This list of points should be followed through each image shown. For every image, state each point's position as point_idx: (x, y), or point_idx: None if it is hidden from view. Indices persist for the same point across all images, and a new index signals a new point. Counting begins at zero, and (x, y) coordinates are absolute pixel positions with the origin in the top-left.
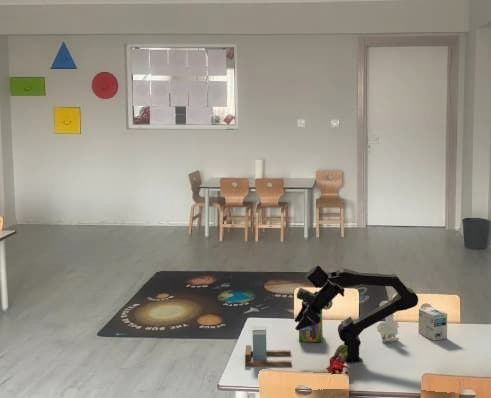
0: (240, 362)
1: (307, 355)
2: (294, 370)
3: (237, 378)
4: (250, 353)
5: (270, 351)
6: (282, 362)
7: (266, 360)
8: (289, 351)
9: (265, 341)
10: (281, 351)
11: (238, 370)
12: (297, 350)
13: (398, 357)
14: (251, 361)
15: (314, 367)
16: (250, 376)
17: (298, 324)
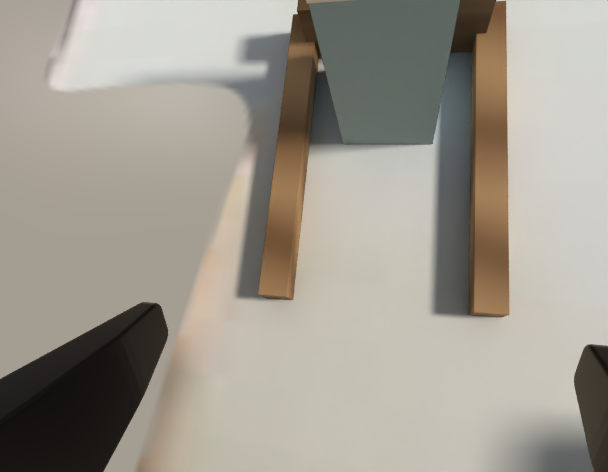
0: None
1: (464, 452)
2: (192, 307)
3: (147, 13)
4: None
5: (480, 158)
6: (266, 233)
7: (354, 139)
8: (475, 301)
9: (321, 47)
10: (477, 238)
11: (243, 6)
12: None
13: None
14: (298, 47)
15: (217, 456)
16: (157, 68)
17: (53, 350)
